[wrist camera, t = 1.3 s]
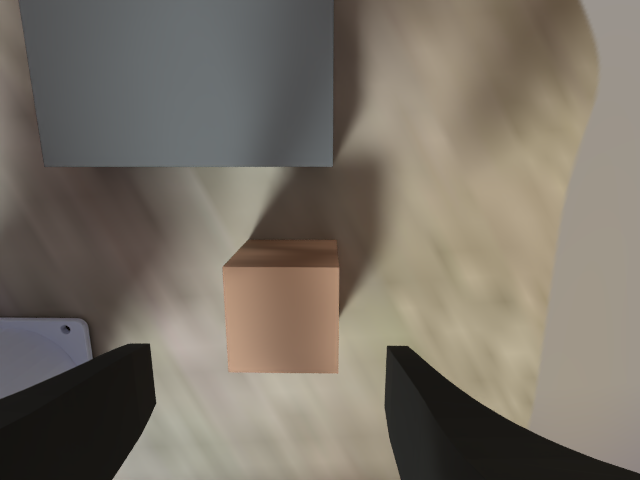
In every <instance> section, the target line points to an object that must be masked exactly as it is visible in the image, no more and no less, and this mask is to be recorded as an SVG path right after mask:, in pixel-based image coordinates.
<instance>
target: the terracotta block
mask: <svg viewBox="0 0 640 480" xmlns="http://www.w3.org/2000/svg"><path fill="white" fill-rule="evenodd" d="M223 284H224V302H225V319H226V336H227V353H228V370H229V372H255V373H338V345H339V260H338V250H337V240H248V241H247V242H246V243H245V244H244V245H243V246H242V247H241V248H240V249H239V250H238V251H237V252H236V253H235V254H234V255H233V256H232V257H231V259H230V260H229V261H228V262H227V263H226V264H225V265H224V266H223Z"/></svg>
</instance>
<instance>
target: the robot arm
mask: <svg viewBox="0 0 640 480" xmlns="http://www.w3.org/2000/svg"><path fill="white" fill-rule="evenodd" d="M66 325H67V326H68V327H69V328H70V331H69V330H67V329H66V327H65V326H66ZM155 405H156V397H155V387H154V378H153V369H152V360H151V350H150V344H127V345H124V346H121V347H119V348H116V349H114V350H111V351H109V352H107V353H104V354H102V355H100V356H98V357H96V358H94V359H93V357H92V350H91V343H90V336H89V329H88V325H87V323H86V322H85V321H84V320H82V319H79V318H0V480H112V479H113V478H114V476H115V475H116V473H117V472H118V470H119V469H120V467H121V466H122V464H123V462H124V461H125V459H126V458H127V456H128V455H129V453H130V452H131V450H132V449H133V447H134V445H135V444H136V442H137V441H138V439H139V438H140V436H141V434H142V432H143V430H144V428H145V426H146V424H147V422H148V420H149V418H150V416H151V414H152V411H153V409H154V407H155ZM385 412H386V419H387V426H388V432H389V438H390V442H391V446H392V449H393V453H394V456H395V460H396V464H397V467H398V471H399V474H400V478H401V480H640V474H639V473H636V472H633V471H630V470H627V469H624V468H621V467H618V466H615V465H612V464H609V463H606V462H603V461H600V460H597V459H594V458H592V457H589V456H586V455H584V454H581V453H579V452H576V451H574V450H571V449H569V448H567V447H564V446H562V445H559V444H557V443H555V442H553V441H550V440H548V439H546V438H544V437H541V436H539V435H537V434H535V433H533V432H531V431H529V430H527V429H525V428H523V427H521V426H519V425H517V424H515V423H513V422H512V421H510V420H508V419H506V418H504V417H502V416H501V415H499V414H497V413H496V412H494V411H492V410H491V409H489V408H487V407H486V406H484V405H482V404H481V403H479V402H478V401H476V400H475V399H473V398H472V397H470V396H469V395H468V394H466V393H465V392H463V391H462V390H461V389H459V388H458V387H456V386H455V385H454V384H453V383H451V382H450V381H449V380H447V379H446V378H445V377H444V376H442V375H441V374H440V373H439V372H437V371H436V370H435V369H434V368H433V367H432V366H430V365H429V364H428V363H427V362H426V361H425V360H423V359H422V358H421V357H420V356H419V355H418V354H417V353H415V352H414V351H413V350H412V349H411V348H409V347H408V346H387V358H386V383H385Z"/></svg>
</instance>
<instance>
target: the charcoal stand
mask: <svg viewBox="0 0 640 480" xmlns="http://www.w3.org/2000/svg"><path fill="white" fill-rule="evenodd" d="M19 6H20V13H21V19H22V26H23V32H24V38H25V45H26V51H27V58H28V64H29V71H30V77H31V84H32V90H33V96H34V103H35V109H36V116H37V122H38V129H39V135H40V142H41V148H42V155H43V161H44V167H333V39H334V0H19Z"/></svg>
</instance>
